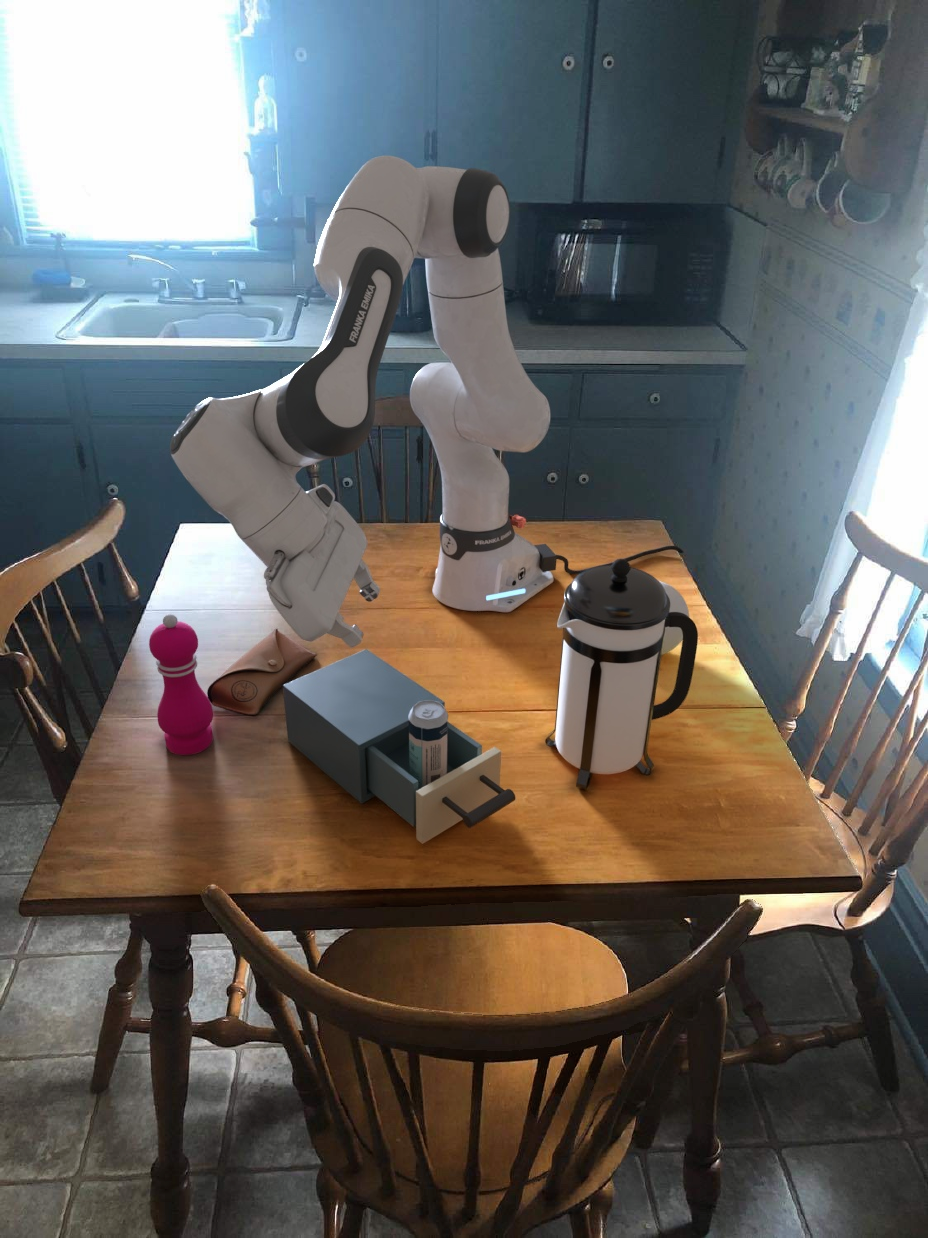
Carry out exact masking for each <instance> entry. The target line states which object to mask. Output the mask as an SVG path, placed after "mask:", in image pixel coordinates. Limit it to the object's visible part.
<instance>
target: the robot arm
mask: <svg viewBox="0 0 928 1238" xmlns="http://www.w3.org/2000/svg"><path fill="white" fill-rule="evenodd" d="M334 205H335V206H334V207H333V210H331V213H330V215H329V216H328V217H329V218H328V219H327V221H326V224H325V226H324V228H323V231H322V234H321V236H320V239H319V241H318V244H317V248H316V253H315V258H314V263H313V271H314V274H315V277H316V280H317V282H318V284H319V285H320V287H321V289H322V290H323V292H324V293H325V295H327V296H328V298H330V299H331V301H333V302H334V303H336V304H335V305H336V306H335V308H334V311H333V314H332V316H331V319H330V321H329V324H328V327H327V330H326V333H325V335H324V338H323V341H322V343H321V346H320V347H319V349H318V350H317V352H316V353H315V354H314V355H313V356H312V357H311V358H310V359H308V360H307V361H305V362H304V363H303V364H301V365H300V366H299V367H297V368H296V369H295V370H293V371H292V372H291V373H290V374H288V375H286V376H284V377H283V378H280V379H279V380H277V381H276V382H273V383H272V384H271V385H268V386H267V387H265V388H262V389H258V390H255V391H252V392H250V393H246V394H242V395H238V396H237V395H236V396H233V397H225V398H224V397H223V398H216V397H208V398H206V399H204V400H201V402H199V403H198V404H196V405H195V406H194V407H193V408H192V410H191V411H190V412H189V413H188V414H187V415H186V416H185V417H184V418H183V420H181V422H180V424H179V425H178V426H177V428H176V430H175V431H174V432H173V434H172V437H171V439H170V442H169V443H170V444H169V452H170V456H171V458H172V460H173V461H174V463H175V465H176V466H177V468H178V470H179V471H180V473H181V474H182V475H183V477H184V478H185V479H186V481H187V482H188V483H189V484H190V485H191V487H192V488H193V489H194V490H195V492H197V494H198V495H199V496H200V497H201V499H202V500H203V501H205V503H206V504H207V505H208V506H209V507H210V508H211V509H212V511H214V512H216V513H218V514H220V515H221V516H222V517H224V518H225V519H226V520H227V521H228V522H229V523H230V524H231V526H232V528H233V529H234V532H235V533H236V535H237V537H238V538H239V539H240V540H241V541H242V542H243V543H244V544H245V545H246V547H248V549H250V550H251V552H252V553H253V554H254V555H255V556H256V557H257V558H258V559H259V560H260V561H261V562H262V564H263V565H264V566H265V567H266V568H265V570H264V573H263V579H264V580H265V585H266V591H267V593H268V596H269V600H270V601H271V603H272V605H273V606H274V607H275V609H276V610H277V612H278V613H279V614H280V616H281V617H282V618H283V619H284V620H285V622H286V623H287V625H288V626H289V627H290V629H292V631H293V632H294V633H295V634H296V635H297V636H298V637H299V638H300V639H301V640H302V641H305V642H306V641H307V642H314V641H316V640H318V639H320V638H321V637H323V636H324V635H326V634H328V635H329V636H333V637H335V638H338V639H341V640H342V642H344V643H345V644H346V645H347V646H348V647H349V648H355V647H357V646H359V645H360V644H362V641H363V637H364V631H363V630H361V629H360V627H359V626H358V625H357V624H356V623H354V624H353V625H350V624H348V623H347V622H345V621H344V619H345V618H344V616H343V615H342V614H341V613H340V610H341V608H342V606H343V603H344V602H345V600H346V597H347V594H348V591H349V590H350V587H351V585H352V582H353V579H354V581H355V582H356V584H357V586H358V588H359V592H358V593H359V595H360V596H361V597H363V598H364V600H365V601H366V602H368V603H370V602H372V601H374V600H376V599H378V597H379V595H380V592H381V587H380V586H379V585H378V584H377V583H376V582H375V581H374V580H373V579H374V578H373V576H372V574H371V571H370V569H369V566H368V564H367V563H366V562H365V561H364V560H363V557H364V554H365V552H366V550H367V547H368V546H369V545H368V544H369V543H368V539H367V537H366V534H365V531H364V530H363V529H362V527H361V526H360V525H359V523H358V522H357V521H356V520H355V518H354V517H353V516H352V515H351V514H350V513H349V512H348V510H347V509H346V508H345V507H344V506H343V505H342V504H341V503H339V502H338V501H335V498H336V494H335V493H334V491H333V490H332V489H331V488H330V487H329V486H328V485H327V484H325V483H323V484H320V485H318V486H316V487H314V488H312V489H310V490H307V491H305V489H304V488H303V487H302V486H301V485H300V484H299V483H298V481H297V479H296V478H297V477H296V476H297V473H299V471H300V470H301V469H303V468H305V467H308V466H312V465H314V464H317V463H320V462H322V461H324V460H328V459H333V458H338V457H343V456H346V455H349V454H351V453H353V452H355V451H357V450H358V449H359V448H360V447H361V446H363V445H364V443H366V441H367V439H368V438H369V436H370V434H371V431H372V429H373V426H374V422H375V417H376V416H375V415H376V384H377V377H378V372H379V368H380V364H381V361H382V357H383V355H384V351H385V349H386V346H387V342H388V340H389V337H390V334H391V330H392V327H393V325H394V321H395V318H396V315H397V312H398V309H399V305H400V302H401V299H402V298H401V297H402V294H403V287H404V284H405V281H406V279H407V278H408V275H409V273H410V270H411V267H412V265H413V263H414V260H415V259H424V260H425V262H424V263H425V266H424V267H425V279H426V287H427V295H428V304H429V310H430V311H429V312H430V318H431V324H432V325H431V326H432V332H433V338H434V340H435V343H436V345H437V346H438V348H439V349H440V351H441V352H442V353H443V354H444V355H445V356H446V357H447V358H448V359H449V361H450V362H446V361H445V362H430V363H428V364H426V365H423V366H422V367H421V369H420V370H418V371H417V373H416V374H415V376H414V378H413V379H412V382H411V385H410V389H409V401H410V402H409V403H410V406H411V409H412V411H413V413H414V415H415V416H416V417H417V418H418V420H420V422H421V423H422V425H423V426H424V429H425V430H426V432H427V434H428V436H429V439H430V441H431V443H432V446H433V448H434V451H435V454H436V455H435V456H436V458H437V461H438V465H439V469H440V475H441V496H442V499H441V501H442V514H441V515H440V517H439V540H440V541H439V542H440V548H439V555H438V562H437V568H435V573H434V574H435V575H434V576H435V578H434V582H433V586H432V595H433V597H434V598H435V599H436V600H437V601H438V602H440V603H441V604H442V605H445V606H447V607H450V608H453V609H457V610H460V611H461V610H462V611H470V612H477V611H478V612H481V611H482V612H483V611H492V612H498V613H499V612H500V613H510V612H512V611H514V610H515V609H516V608H518V607H520V606H521V605H522V604H524V603H525V602H527V601H529V600H530V599H531V598H532V597H534V596H535V595H537V594H538V593H539V592H541V591H542V590H544V589H545V588H547V587H548V586H550V585H551V584H553V582H554V575H553V573H552V572H551V571H556V570H557V560H559V561H561V562H563V565H564V567H563V569H564V571H565V572H566V573H567V574H570V575H579V574H580V573H581V572H583V571H585V570H587V569H590V568H593V567H597V566H603V565H612V564H613V562H614V561H611V562H608V563H604V564H599V565H595V566H591V567H588V568H584V569H579V570H575V569H574V570H573V569H571V568H569V560H568V559H567V558H566V557H565V556H564V555H560V554H556V553H555V552H554V551H553V550H552V549H551V548H550V547H549V546H548V545H547V543H541V544H540V543H539V544H533V543H532V542H530V541H529V540H528V539H526V538H525V537H523V536H521V535H520V534H518V533H517V532H515V530H514V527H516V528H517V529H521V530H522V529H524V527H525V525H526V524H527V519H526V517H524V516H520V515H519V514H514V515H511V513H510V512H509V501H510V476H509V473H508V471H507V468H506V467H505V465H504V464H503V462H502V461H501V460H500V459H499V458H498V456H497V455H496V453H495V451H494V450H497V451H499V452H500V451H501V452H511V453H528V452H531V451H533V450H534V449H535V448H537V447H538V446H539V445H540V444H541V443H542V441H543V440H544V439H545V438H546V435H547V433H548V431H549V428H550V425H551V407H550V402H549V401H548V399H547V397H546V396H545V395H544V393H543V392H541V390H540V389H539V388H538V387H537V386H536V384H534V383H533V381H532V380H531V378H530V377H529V375H528V373H527V372H526V370H525V368H524V366H523V365H522V362H521V360H520V358H519V355H518V353H517V350H516V349H515V347H514V343H513V341H512V338H511V334H510V330H509V325H508V318H507V308H506V301H505V291H504V289H505V288H504V280H503V270H502V262H501V256H500V252H499V247H500V246H501V245H502V243H503V242H504V240H505V239H506V236H507V235H508V230H509V225H510V217H511V207H510V198H509V193H508V191H507V188H506V185H504V183H503V182H502V181H501V179H500V178H499V177H498V175H496V174H495V173H493V172H491V171H487V170H485V169H481V168H475V167H470V168H468V169H464V168H459V167H458V168H457V167H449V166H438V165H437V166H436V165H432V166H431V165H427V166H426V165H425V166H423V167H415V166H414V165H413V164H412V163H410V162H409V161H407V160H405V159H404V158H400V157H399V156H398V157H397V156H395V155H394V156H393V155H379V156H376V157H372V158H370V159H369V160H368V161H366V162H365V163H364V164H363V165H362V166H361V167H360V168H359V170H358V171H357V172H356V173H355V174H354V176H353V178H352V179H351V180H350V181H349V183H348V184H347V185H346V187H345V189H344V190H343V192H342V193H341V195H340V197H339V198H338V200H337V201H336V204H334ZM666 551H676V552H678V553H679V554H683V553H684V550H683V549H682V548H680V547H679V546H676V545H665V546H661V547H657V548H654V549H647V550H645V551H641V552H638V553H635V554H634V555H631V556H627V557H623V559H625V560H626V561H628V562H631V561H634V560H637V559H640V558H643V557H645V556H648V555H653V554H657V553H662V552H666Z"/></svg>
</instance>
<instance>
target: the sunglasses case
mask: <svg viewBox="0 0 928 1238" xmlns="http://www.w3.org/2000/svg"><path fill="white" fill-rule="evenodd" d="M317 656H318V653H317V652H312V651H310V650H309V649H306V648H305V647H304V646H302V645H301V644H299V643H298V642H296V641H295V640H293V639H292V638H290V637H289V636H287V635H286V634H285V633H283V632H281V631H280V630H278V627H276V628H274V629H273V630H272V632H271V633H269V634H268V635H267V636H266V637H264V638H263V639H261V640H260V641H259V642H258V643H256V644H255V645H254V646H253V647H251V648H250V649H249V650H248V651H247V652H245V653H244V654H243V655H242V656H241V657H240V658H238V660H236V661H235V662H234V663H233V664H232V665H231V666H230V667H228V668H227V669H226V670H225V671H224V672H223V673H222V674H221V675H220V676H219V677H217V678H216V679H215V680H214V681H213V682H211V684H210V685H209V686H208V688H207V691H206V695H207V697H208V699H209V700H210V702H211V705H212V706H214V707H218V708H220V709H224V710H225V711H229V712H232V713H238V714H242V715H249V716H253V715H257V714H259V712H260V711H261V710H262V709H263V707H264V706H265V705H266V704H267V703H268V702H269V701H270V699H271V698H272V697H273V696H274V695H275V694H277V692H279V691H280V690H281V689H282V688H283V685H284V684H287V683H289V682H290V680H292V679H293V678H294V677H295V676H296V675H297V674H298V673H300V671H301V670H302V669H304V668H305V667H306V666H307V665H308V664H309V663H310V662H311V661H312V660H314V659H315V658H316V657H317Z"/></svg>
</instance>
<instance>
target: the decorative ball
mask: <svg viewBox="0 0 928 1238" xmlns="http://www.w3.org/2000/svg"><path fill="white" fill-rule="evenodd" d="M658 581H659V582H660V583H661V584H662V586H663V587H664V589H665V592H666V594H667V595H668V597H669V599H670V611H669V612H680V613H684V614H685V615H687V616H688V617H689V618H690V612H689V607H688V604H687V602H686V600H685V599H684V596H683V595H682V594H681V593H680V592H679V591H678V589H676V588H675V587H674V586H672V585H670V584H668V583H667V582H664V581H661V580H658ZM682 641H683V633H682V630H681V628H679V627H665V635H664V642H663V647H662V655H661V656H663V655H664V654H667V653H670V652H671V651H673V650H675V648H677V647H678V646H679V645H680V644H681V643H682Z"/></svg>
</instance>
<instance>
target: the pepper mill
mask: <svg viewBox="0 0 928 1238" xmlns="http://www.w3.org/2000/svg"><path fill="white" fill-rule="evenodd" d="M148 647H149V651H150V653H151V655H152V657H153V658H154V659H156V662H155V664H156V669H157V672H158V673H159V674H160V675H162V679H163V693H162V695H161V698H160V701H159V704H158V707H157V712H156V713H157V714H156V715H157V717H156V718H157V723H158V724H157V725H158V726H159V728H160V730H161V731H162V732H163V733H164V735H163V736H164V741H165V747H166V748H167V750H168V751H169V752H171V753H172V754H175V755H180V756H190V755H191V756H192V755H196V754H199V753H201V752H204V751H205V750H207V749H208V748H209V747H210V746H211V744H212V743H213V740H214V734H213V727H212V722H213V720H214V714H215V713H214V709H213V704H212V703H211V702H210V700H209V699H208V695H207V693H206V692H205V691H204V690H203V688H202V687H201V686H200V684H199V682H198V680H197V677H196V672H195V670H196V669H197V667H198V660H197V659H198V657H197V654H196V652H197V651H198V647H199V638H198V635H197V633H196V631H195V630H194V628H193V627H192V626H191V625H189V624H188V623H186V622H183V621H179V620H178V617H177V616H176V615H175V614H172V613H168V614H165V615H164V616H163V618H162V623H161V624H159V625H157V626H156V627H155V628H154V629H153V631H152V632H151V634H150V636H149V640H148Z"/></svg>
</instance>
